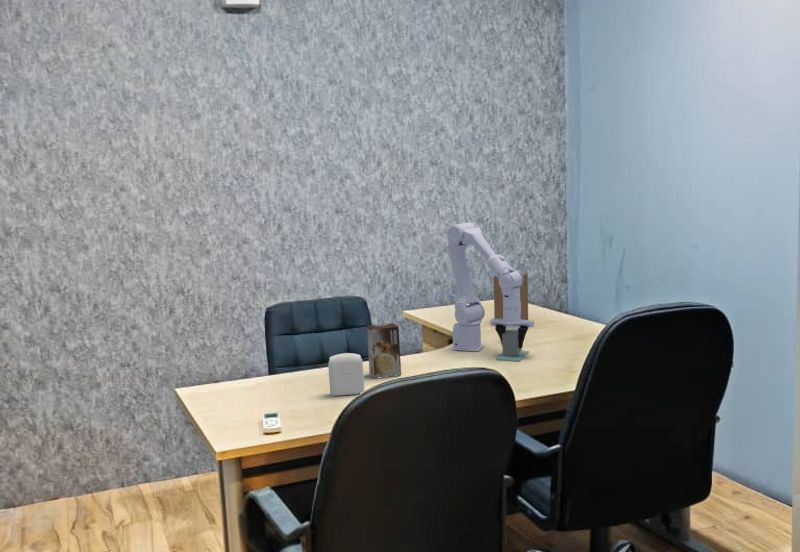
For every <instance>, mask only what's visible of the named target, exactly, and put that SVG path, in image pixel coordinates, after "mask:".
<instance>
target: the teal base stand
mask: <svg viewBox="0 0 800 552" xmlns="http://www.w3.org/2000/svg"><path fill="white" fill-rule="evenodd" d="M529 352H530V351H529V350H522V351H521V352H520V353H519V354H518V355H509V354H503V352H501V353H500V354H499V355H498V356H497V357H496V358H495V360H496V361H500V362H501V361H502V362H503V361H504V362H516V363H517V362H518V363H519V362H522V360H523V359H524V358H525V357H526V356H528V354H529Z"/></svg>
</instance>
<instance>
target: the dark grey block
mask: <svg viewBox="0 0 800 552" xmlns="http://www.w3.org/2000/svg"><path fill="white" fill-rule="evenodd" d="M501 347H502V353H503V354H509V355H518V354H519V353H520V352H521V351H523V347H522V348H519V334H518V331H508V330H506V331H505V332H504V333H503V334H502V344H501Z"/></svg>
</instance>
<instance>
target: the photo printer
mask: <svg viewBox="0 0 800 552" xmlns="http://www.w3.org/2000/svg"><path fill="white" fill-rule="evenodd" d="M363 363H364V362H363V359H362V356H361V355H360V354H357V353H352V352H351V353H350V352H344V353H339V354H338V353H337V354H335V355H331V356H330V357H329V360H328V365H327V366H328V380H329V394H330V396H332V397H337V396H349V395H360V394H359V393H361V392H363V391H364V392H365V382H364V381H365V380H364V365H363Z"/></svg>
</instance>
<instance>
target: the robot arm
mask: <svg viewBox="0 0 800 552" xmlns="http://www.w3.org/2000/svg"><path fill="white" fill-rule="evenodd" d="M446 236H447V242H448V243H447V244H448V245H447V249H448V250H447V251H448V255H449V260H450V264H451V268H452V272H453V278H454V282H455V286H456V291H457V296H458V298H457V300H456V302H455V303H454V310H455V311H454V317H455V320H456V323H453V324H454V325H453V327H452V350H453V351H465V352H479V351H480V350H482V349H483V348H485V344H482V338H481V337H482V336H481V334H482V332H481V324H482V320H483V319H484V317H485V314H486V312H485V308H484V306H483V305H482V302H481V299H480V298H479V297H478V296H476V295H475V292H474V288H473V284H472V283H473V282H472V279H471V274H470V270H469V265H468V261H467V256H466V249H467V247H469V245H470V246H473V247H474V248H475V249H476V250H477V251H478V252H479V253H480V254H481V255H482V256H483V257H484V259H486V261H487V267H488V269H490V270H491V272H492V273H493V274H494V276H495V275H496V276H497V278H498V279H499V285H500V287H501V289H502V294H503V319H495V318H491V319H490V320H489V324H490V326H495V325H496V326H495V329H494V330H495V331H496V333H497V335H498V337H499V339H500V343H501V345H502V334H503V333H504V332H505V331H506V326H519V328H518V334H519V348H522V349H523V347H524V340H525V338H526V334H527V332H528V330H529V328H530V329H531V328H533V327H535V321H534V320H529V319H528V320H522V319H520V287H521V286H522V284H523V276H522V274H521V273H522V272H521V271H520V270H516V269H514V268H513V267H512V266H511V265H510V264H509V263H508V262H507V260H506V259H505V256H504V255H501V254H496V253H495V251H494V250H493V249H492V247H491V246H490V245H489V244H490V243H488V242H487V240H486V238H485V237H484V236H483V234H482V229H481V228H480V227H479V226H478V224H477V223H475V222H474V221H468V222H464V223H456V224H455V223H454V224H451V225H450V226H449V227H448V230H447V231H446Z"/></svg>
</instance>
